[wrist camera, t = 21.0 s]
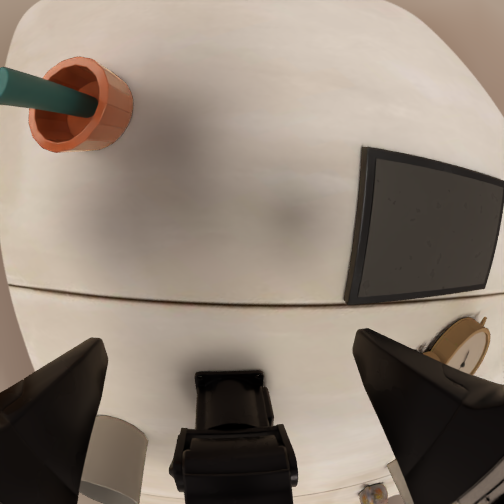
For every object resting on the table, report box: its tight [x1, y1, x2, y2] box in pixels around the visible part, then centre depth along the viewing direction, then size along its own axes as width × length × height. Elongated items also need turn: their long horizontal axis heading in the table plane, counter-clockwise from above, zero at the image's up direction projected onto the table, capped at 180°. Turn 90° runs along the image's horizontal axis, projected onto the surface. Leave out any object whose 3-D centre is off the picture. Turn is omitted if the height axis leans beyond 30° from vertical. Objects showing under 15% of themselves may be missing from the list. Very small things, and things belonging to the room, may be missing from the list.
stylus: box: [0, 67, 98, 118], centre depth 11 cm, size 2×2×11 cm
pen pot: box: [29, 57, 133, 153], centre depth 14 cm, size 6×6×5 cm
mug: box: [359, 484, 388, 504], centre depth 41 cm, size 12×7×7 cm, turn 27°
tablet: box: [344, 147, 504, 305], centre depth 22 cm, size 20×13×1 cm, turn 88°
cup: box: [79, 416, 148, 504], centre depth 23 cm, size 8×8×10 cm
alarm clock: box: [422, 317, 490, 375], centre depth 27 cm, size 11×5×15 cm
